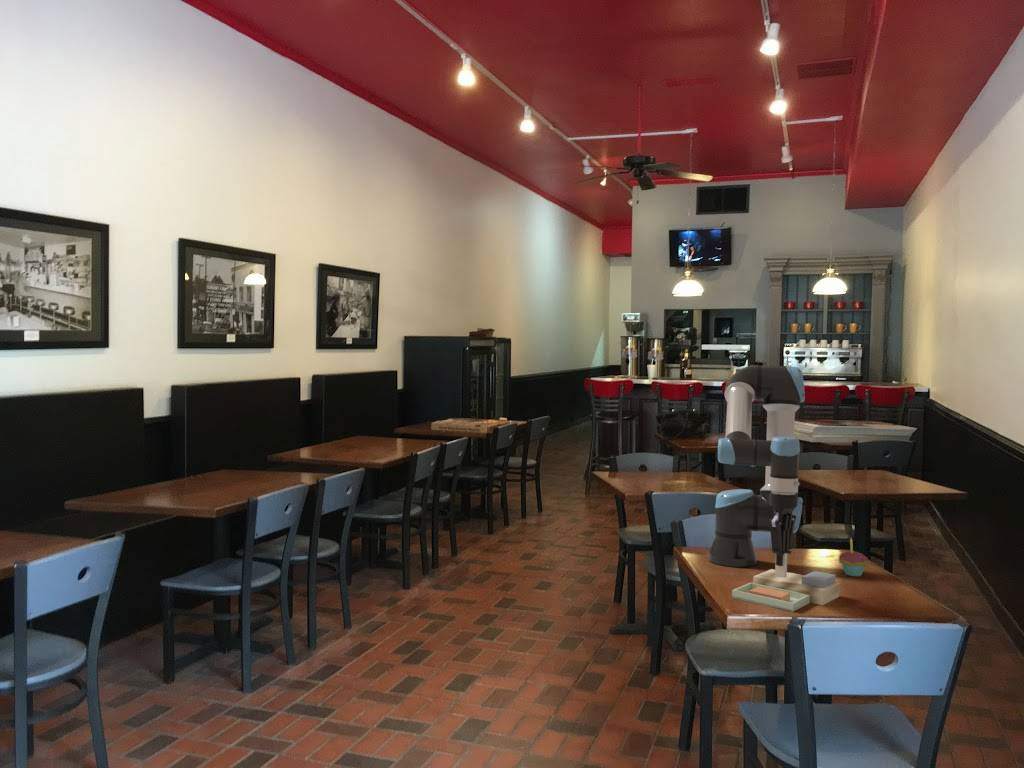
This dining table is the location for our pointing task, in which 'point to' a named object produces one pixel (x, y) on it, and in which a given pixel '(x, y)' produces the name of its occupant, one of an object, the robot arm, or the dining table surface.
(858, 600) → the dining table surface
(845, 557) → the cupcake
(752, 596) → the tray
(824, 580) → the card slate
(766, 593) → the orange flat block
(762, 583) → the beige flat box
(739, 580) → the dining table surface
